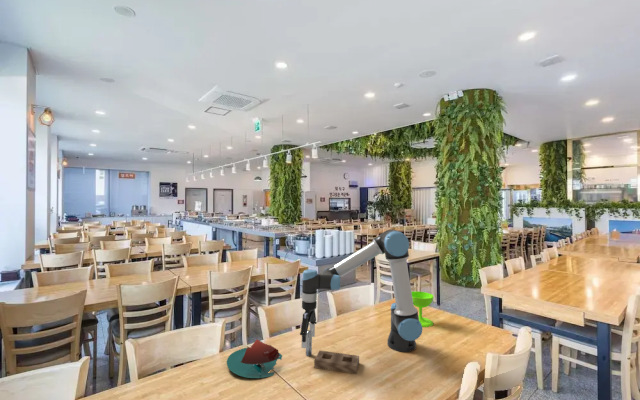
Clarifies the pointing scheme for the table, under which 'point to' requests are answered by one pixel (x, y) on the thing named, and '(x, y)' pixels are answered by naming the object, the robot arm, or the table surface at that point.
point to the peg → (309, 343)
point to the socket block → (337, 362)
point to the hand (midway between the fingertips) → (308, 341)
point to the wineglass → (422, 305)
